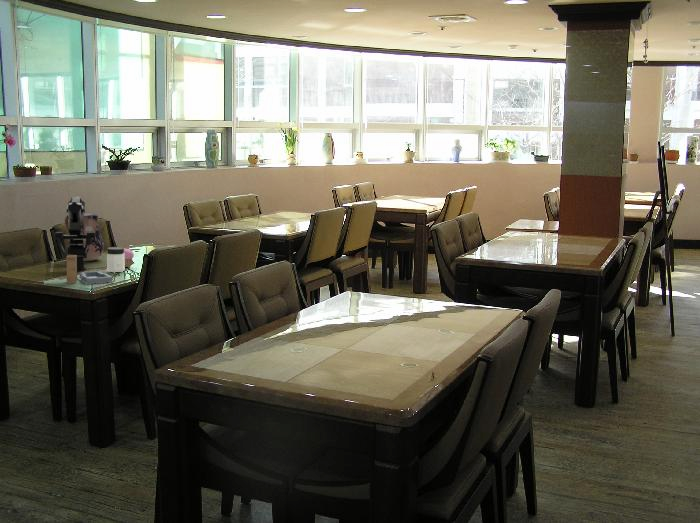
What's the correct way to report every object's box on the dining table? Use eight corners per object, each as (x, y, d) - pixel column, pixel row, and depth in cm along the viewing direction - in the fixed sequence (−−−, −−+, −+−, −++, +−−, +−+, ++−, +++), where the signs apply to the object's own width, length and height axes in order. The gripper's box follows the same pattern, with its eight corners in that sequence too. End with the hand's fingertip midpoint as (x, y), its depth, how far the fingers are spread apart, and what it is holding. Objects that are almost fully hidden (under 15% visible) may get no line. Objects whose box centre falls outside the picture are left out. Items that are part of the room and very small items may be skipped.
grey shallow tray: (75, 277, 379) (75, 272, 379) (102, 275, 386) (102, 270, 386) (86, 284, 364) (86, 278, 364) (114, 282, 372) (113, 276, 371)
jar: (109, 273, 393) (109, 249, 391) (104, 270, 399) (104, 247, 398) (127, 272, 398) (127, 248, 396) (122, 269, 404) (122, 246, 402)
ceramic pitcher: (97, 263, 421) (97, 216, 417) (58, 261, 421) (57, 215, 417) (108, 258, 438) (107, 213, 434) (70, 256, 438) (69, 212, 434)
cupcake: (135, 266, 415) (135, 247, 413) (131, 269, 406) (131, 250, 405) (118, 266, 415) (118, 247, 413) (114, 268, 406) (113, 249, 404)
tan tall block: (68, 281, 370) (67, 255, 368) (77, 281, 371) (76, 254, 369) (67, 283, 364) (66, 257, 362) (76, 283, 365) (75, 256, 363)
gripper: (53, 215, 372) (53, 242, 364) (95, 215, 378) (95, 242, 370) (55, 229, 381) (54, 256, 373) (95, 228, 387) (95, 255, 379)
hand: (75, 252), depth 374 cm, fingers open, 9 cm apart
